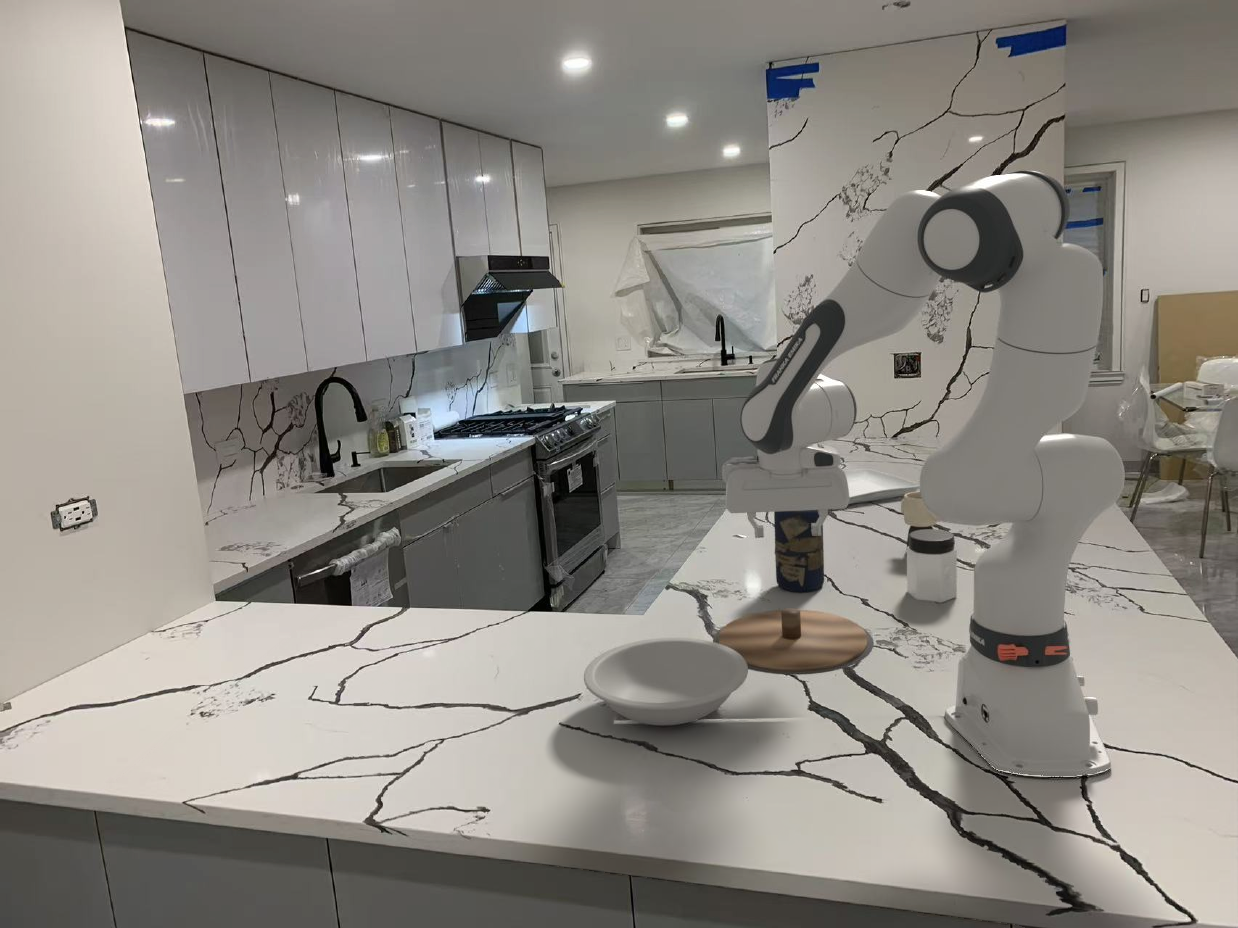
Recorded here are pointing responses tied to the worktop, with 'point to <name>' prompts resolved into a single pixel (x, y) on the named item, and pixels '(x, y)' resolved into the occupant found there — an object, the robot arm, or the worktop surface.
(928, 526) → the character mug
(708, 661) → the soup bowl
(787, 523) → the canister
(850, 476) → the square plate
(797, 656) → the lid
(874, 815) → the worktop surface
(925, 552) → the jar
